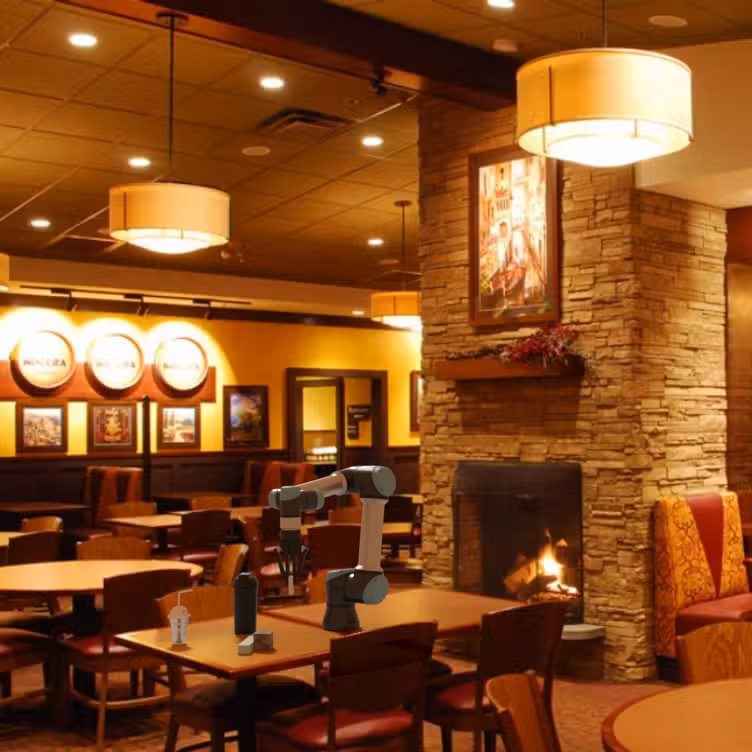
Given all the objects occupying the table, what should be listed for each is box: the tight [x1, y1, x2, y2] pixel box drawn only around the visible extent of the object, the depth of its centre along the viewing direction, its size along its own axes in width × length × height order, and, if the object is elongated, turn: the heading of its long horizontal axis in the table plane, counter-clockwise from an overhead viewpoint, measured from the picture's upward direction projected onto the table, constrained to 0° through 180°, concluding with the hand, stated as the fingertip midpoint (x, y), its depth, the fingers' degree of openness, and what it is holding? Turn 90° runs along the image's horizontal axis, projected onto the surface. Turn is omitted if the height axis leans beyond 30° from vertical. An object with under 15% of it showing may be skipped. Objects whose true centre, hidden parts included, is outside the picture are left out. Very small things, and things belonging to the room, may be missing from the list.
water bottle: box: [231, 572, 259, 635], centre depth 437 cm, size 10×10×23 cm
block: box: [252, 630, 274, 652], centre depth 404 cm, size 6×6×6 cm
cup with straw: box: [167, 588, 194, 646], centre depth 415 cm, size 8×9×20 cm
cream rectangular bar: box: [237, 634, 254, 655], centre depth 404 cm, size 4×20×3 cm, turn 174°
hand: (291, 594), depth 405 cm, fingers closed
